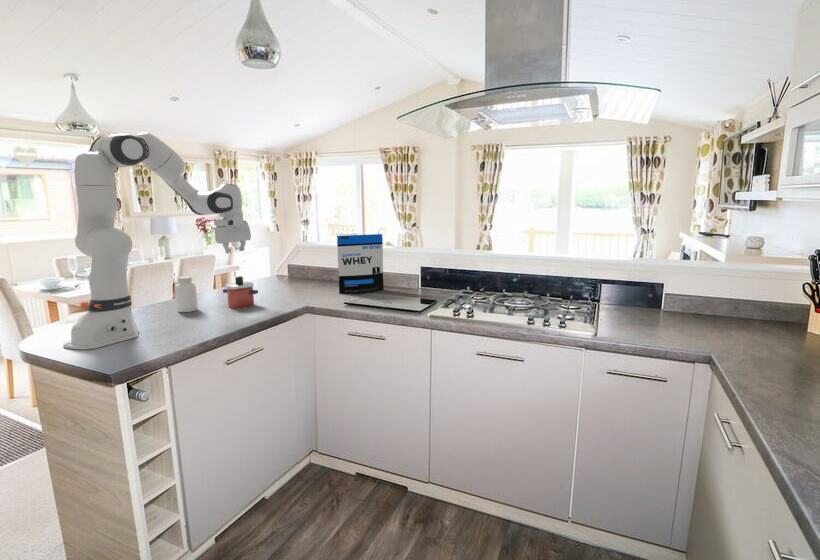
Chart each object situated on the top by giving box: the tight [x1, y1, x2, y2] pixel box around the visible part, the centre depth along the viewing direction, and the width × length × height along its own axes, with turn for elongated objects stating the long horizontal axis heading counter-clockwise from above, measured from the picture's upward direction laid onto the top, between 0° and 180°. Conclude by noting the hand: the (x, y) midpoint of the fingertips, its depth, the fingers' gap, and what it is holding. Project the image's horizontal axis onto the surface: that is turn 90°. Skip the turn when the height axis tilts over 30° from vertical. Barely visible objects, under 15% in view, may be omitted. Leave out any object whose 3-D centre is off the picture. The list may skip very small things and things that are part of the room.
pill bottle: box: [175, 276, 199, 313], centre depth 190 cm, size 8×8×15 cm
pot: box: [222, 286, 259, 310], centre depth 198 cm, size 11×17×9 cm, turn 75°
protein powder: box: [336, 233, 385, 295], centre depth 225 cm, size 10×24×30 cm, turn 113°
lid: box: [225, 276, 254, 289], centre depth 197 cm, size 12×12×4 cm
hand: (235, 252), depth 195 cm, fingers open, 8 cm apart
